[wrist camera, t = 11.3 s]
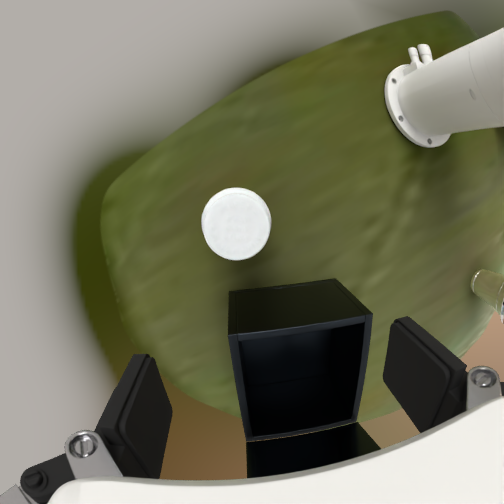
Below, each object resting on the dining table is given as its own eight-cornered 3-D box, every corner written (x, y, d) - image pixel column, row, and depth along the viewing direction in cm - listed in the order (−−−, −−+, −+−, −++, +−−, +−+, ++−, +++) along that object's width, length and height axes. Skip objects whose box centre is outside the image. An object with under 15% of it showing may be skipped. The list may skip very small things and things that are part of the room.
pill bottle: (247, 249, 33) (254, 280, 22) (200, 226, 32) (183, 246, 21) (271, 202, 32) (291, 211, 21) (223, 178, 31) (218, 173, 20)
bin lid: (249, 543, 11) (257, 570, 10) (425, 496, 11) (411, 530, 11) (246, 441, 27) (251, 474, 26) (357, 421, 27) (355, 454, 27)
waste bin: (228, 290, 34) (227, 335, 24) (335, 278, 35) (373, 313, 24) (242, 387, 38) (246, 441, 27) (331, 373, 38) (356, 421, 28)
